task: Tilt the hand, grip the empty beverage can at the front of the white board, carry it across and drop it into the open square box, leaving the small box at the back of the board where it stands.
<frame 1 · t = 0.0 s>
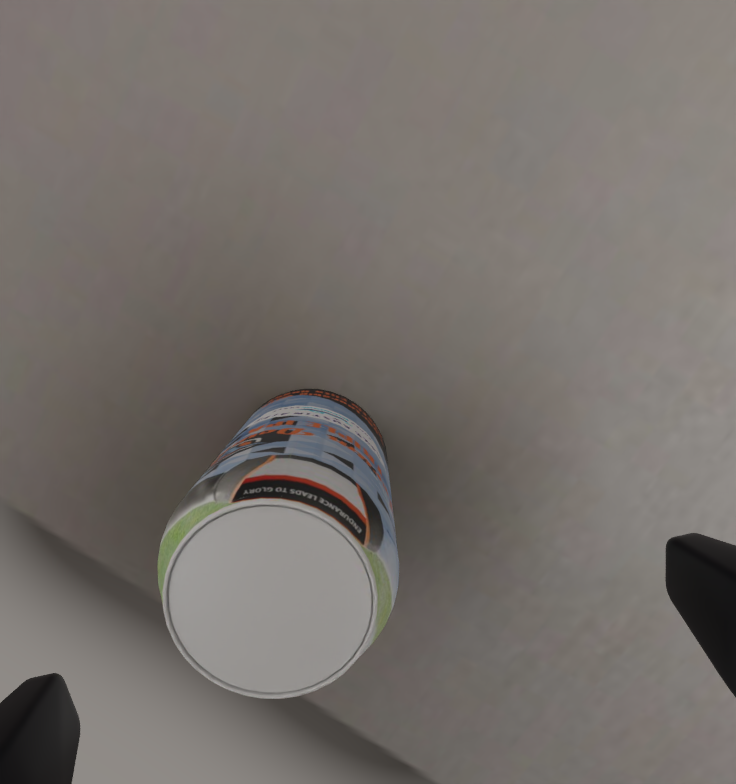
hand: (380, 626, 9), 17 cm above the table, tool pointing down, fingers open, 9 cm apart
beverage can: (300, 471, 26), on the table
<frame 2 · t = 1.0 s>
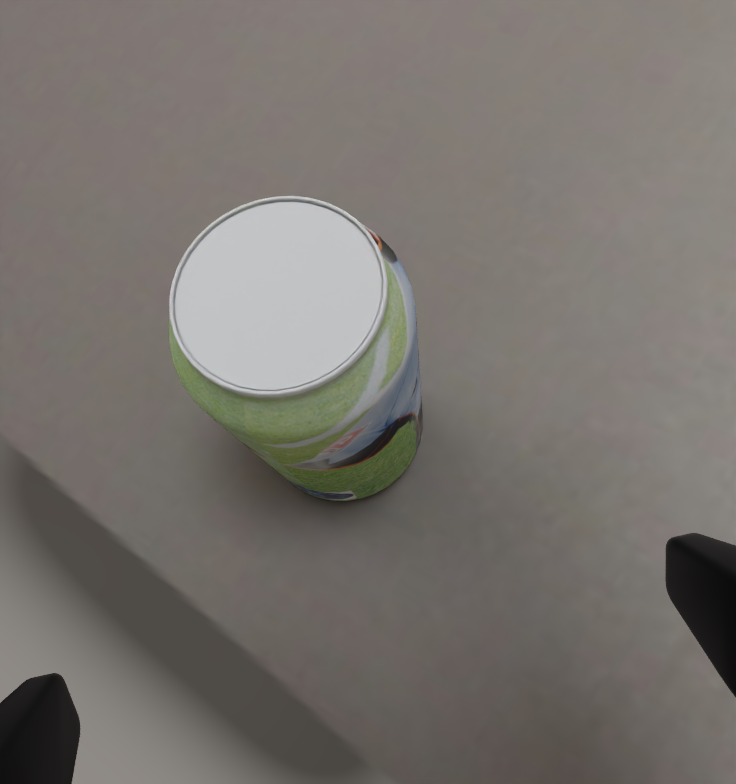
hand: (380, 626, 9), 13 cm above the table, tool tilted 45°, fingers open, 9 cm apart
beverage can: (333, 447, 25), on the table
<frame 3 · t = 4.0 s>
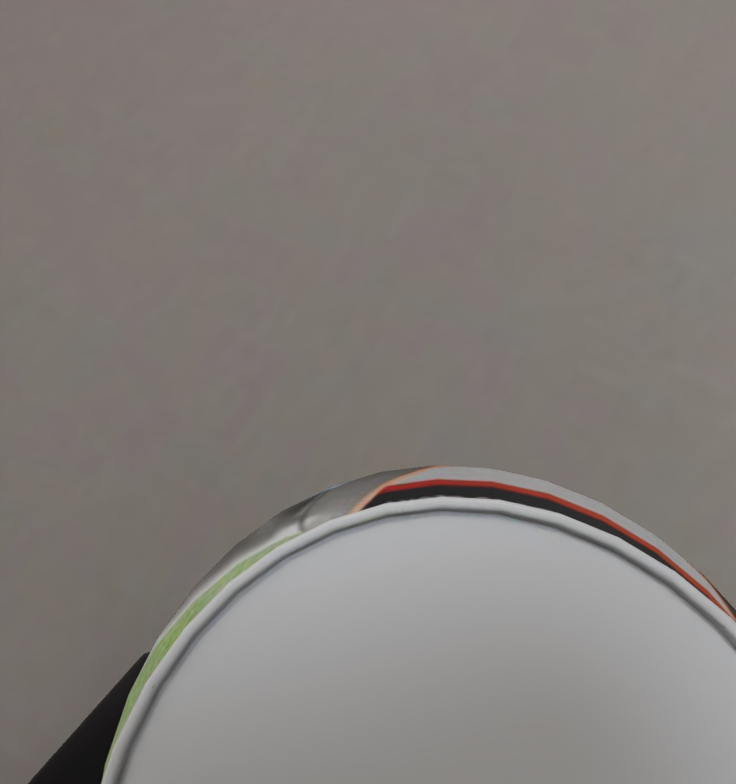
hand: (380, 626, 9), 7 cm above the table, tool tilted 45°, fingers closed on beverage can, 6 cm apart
beverage can: (409, 722, 15), on the table, touching gripper
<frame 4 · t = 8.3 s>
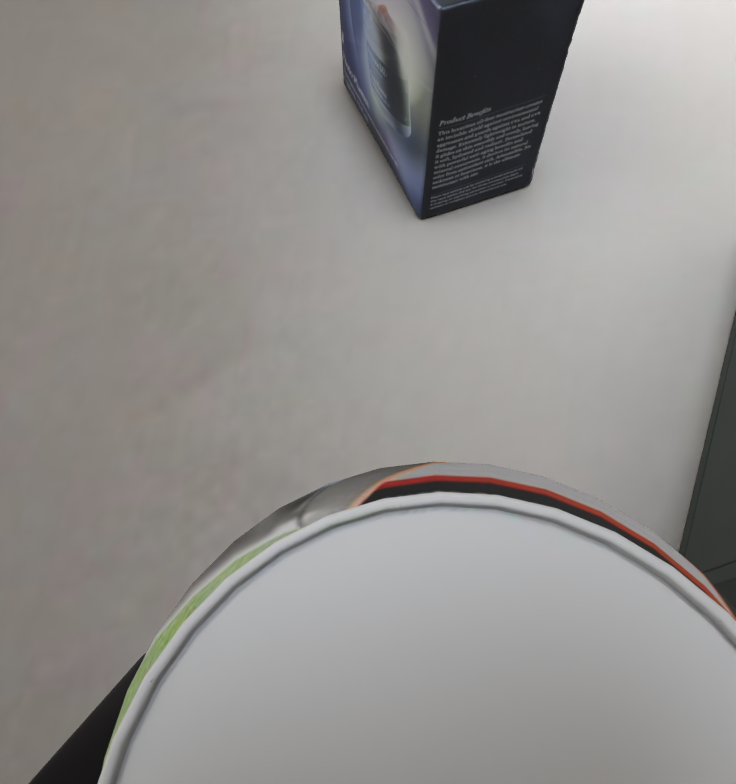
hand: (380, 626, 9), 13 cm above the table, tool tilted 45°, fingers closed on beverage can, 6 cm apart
small box: (429, 135, 32), on the table
beverage can: (409, 720, 15), point 6 cm above the table, touching gripper
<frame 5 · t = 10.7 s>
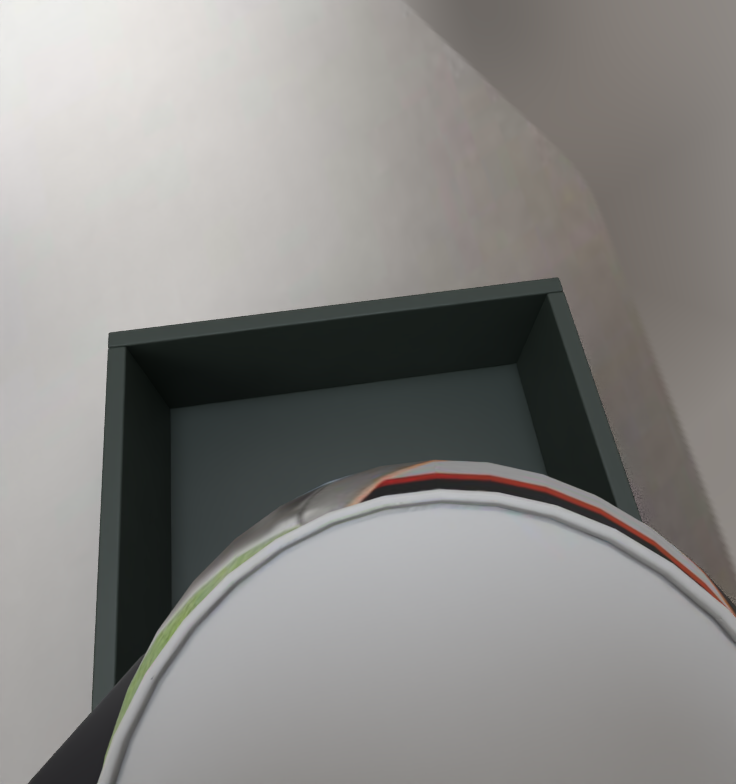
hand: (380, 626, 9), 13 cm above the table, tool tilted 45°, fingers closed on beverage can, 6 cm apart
open square box: (375, 593, 22), on the table
beverage can: (409, 719, 15), point 6 cm above the table, touching gripper
when the fingers open (8 cm above the table, at t = 12.9 s): beverage can moves 1 cm, resting on open square box.
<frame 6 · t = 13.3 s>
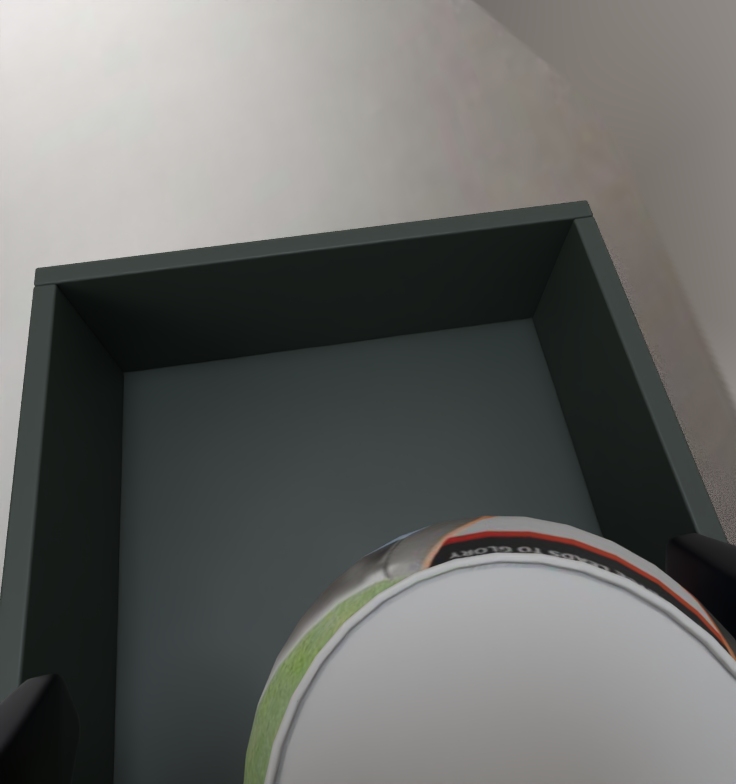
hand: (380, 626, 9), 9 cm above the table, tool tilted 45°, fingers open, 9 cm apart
open square box: (367, 588, 18), on the table
beverage can: (448, 714, 16), resting on open square box
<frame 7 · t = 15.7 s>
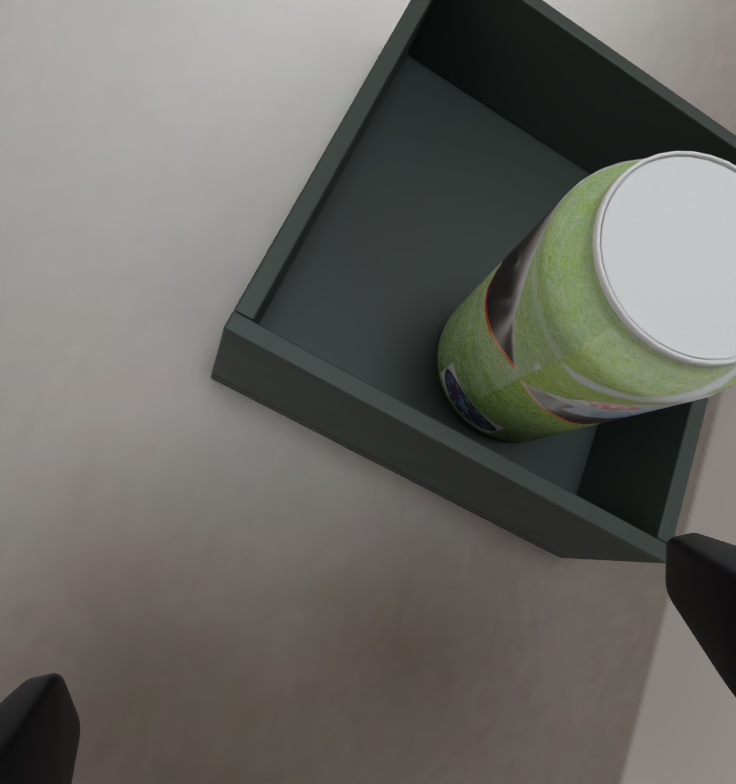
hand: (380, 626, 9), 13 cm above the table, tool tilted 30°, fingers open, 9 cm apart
open square box: (473, 288, 26), on the table
beverage can: (481, 375, 25), resting on open square box
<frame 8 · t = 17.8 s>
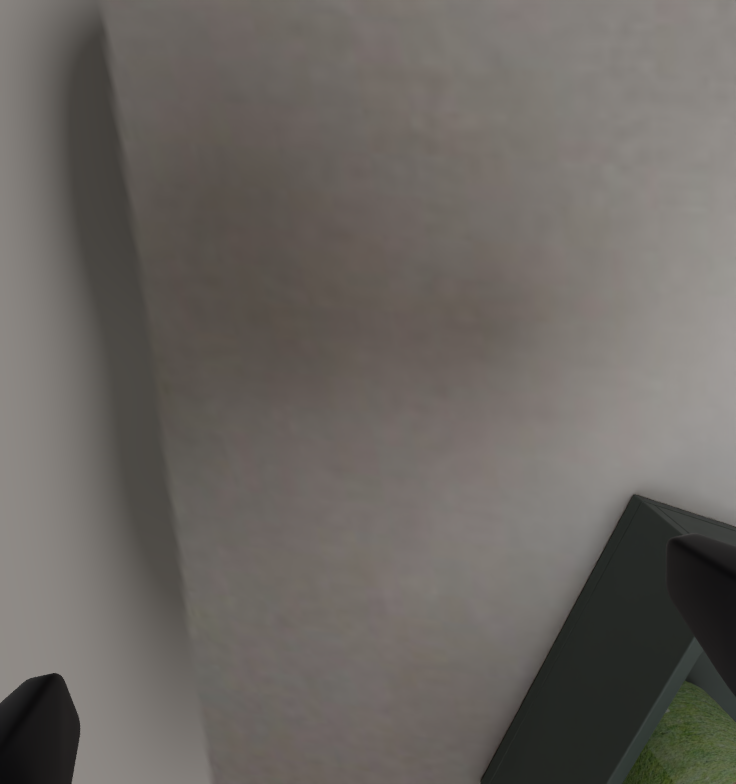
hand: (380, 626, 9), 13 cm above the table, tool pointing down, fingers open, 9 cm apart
open square box: (711, 687, 28), on the table
beverage can: (636, 706, 28), resting on open square box
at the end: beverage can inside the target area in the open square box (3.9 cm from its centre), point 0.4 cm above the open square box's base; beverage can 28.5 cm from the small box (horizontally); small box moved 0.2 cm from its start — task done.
